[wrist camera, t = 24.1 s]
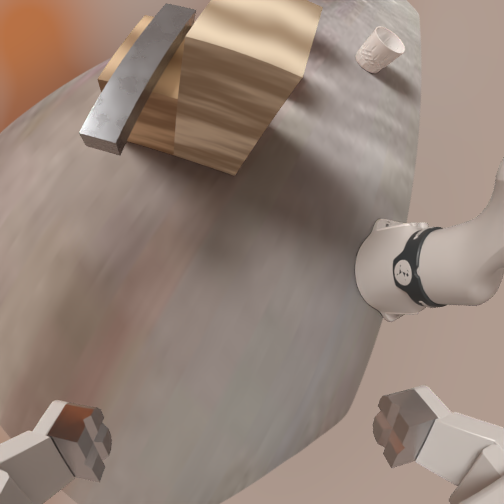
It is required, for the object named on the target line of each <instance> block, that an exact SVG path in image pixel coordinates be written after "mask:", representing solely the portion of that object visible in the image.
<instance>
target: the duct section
mask: <svg viewBox="0 0 504 504" xmlns="http://www.w3.org/2000/svg"><path fill="white" fill-rule="evenodd" d="M195 13H196V10H194V9H189V8H185V7H181V6H176V5H171V4H165V5H164V6H163V8H162V9H161V10H160V11H159V12H158V13H157V15H156V16H155V17H154V18H153V20H152V21H151V22H150V23H149V24H148V26H147V27H146V28H145V30H144V31H143V32H142V33H141V35H140V36H139V37H138V39H137V40H136V41H135V43H134V44H133V46H132V47H131V48H130V50H129V51H128V53H127V54H126V55H125V57H124V58H123V60H122V61H121V63H120V64H119V66H118V67H117V69H116V70H115V72H114V73H113V75H112V76H111V78H110V79H109V81H108V83H107V84H106V86H105V87H104V89H103V91H102V92H101V94H100V96H99V97H98V99H97V101H96V103H95V104H94V106H93V108H92V110H91V111H90V113H89V115H88V117H87V119H86V121H85V123H84V124H83V126H82V128H81V130H80V132H79V134H80V136H81V137H82V139H83V141H84V143H85V145H86V146H88V147H92V148H96V149H99V150H103V151H106V152H110V153H113V154H116V155H121V153H122V150H123V148H124V146H125V144H126V142H127V140H128V138H129V135H130V133H131V131H132V129H133V127H134V125H135V123H136V121H137V119H138V117H139V115H140V113H141V111H142V110H143V108H144V106H145V104H146V102H147V100H148V98H149V96H150V95H151V93H152V91H153V89H154V87H155V86H156V84H157V82H158V80H159V79H160V77H161V75H162V74H163V72H164V70H165V69H166V67H167V65H168V64H169V62H170V60H171V59H172V57H173V56H174V54H175V52H176V51H177V49H178V48H179V46H180V45H181V43H182V42H183V40H184V39H185V36H186V35H187V33H188V32H189V30H190V29H191V27H192V26H193V24H194V18H195Z"/></svg>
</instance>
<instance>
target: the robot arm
mask: <svg viewBox="0 0 504 504" xmlns="http://www.w3.org/2000/svg"><path fill="white" fill-rule="evenodd" d="M386 225H387V227H386ZM503 274H504V158H503V160H502V162H501V164H500V166H499V168H498V171H497V175H496V180H495V187H494V191H493V194H492V197H491V199H490V201H489V203H488V205H487V207H486V208H485V209H484V210H483V212H482V213H481V214H480V215H478V216H477V217H476V218H474V219H472V220H470V221H468V222H465V223H462V224H459V225H455V226H452V227H448V228H441V227H429V226H428V223H418V224H417V223H410V224H405V223H400V222H396V221H391V220H387V219H378V220H377V221H376V222H375V224H374V227H373V230H372V233H371V234H370V235H369V236H368V238H367V239H366V240H365V241H364V242H363V244H362V245H361V247H360V249H359V251H358V254H357V258H356V264H355V276H356V282H357V286H358V289H359V291H360V293H361V295H362V297H363V298H364V300H365V301H366V302H367V303H368V304H369V305H370V306H372V307H374V308H375V309H377V310H378V311H380V313H381V314H382V316H383V317H384V319H385V320H387V321H389V322H390V321H394V320H396V319H398V318H400V317H401V316H403V315H405V314H412V315H414V314H418V313H419V312H420V311H421V310H423V309H424V308H426V307H430V308H436V307H443V306H446V305H468V306H477V305H481V304H483V303H485V302H486V301H488V300H489V299H491V298H492V297H493V296H494V294H495V293H496V292H497V290H498V288H499V286H500V283H501V280H502V277H503ZM378 407H379V408H380V410H381V411H380V412H379V413H378V414H377V415H376V416H375V418H374V422H373V433H374V437H375V439H376V441H377V443H378V444H379V445H381V446H383V447H385V450H384V453H383V454H384V456H385V457H386V459H387V461H388V463H389V465H390V466H391V468H393V467H397V466H400V465H403V464H406V463H409V462H412V461H416V463H418V464H420V465H421V466H423V467H425V468H426V469H428V470H430V471H432V472H433V473H435V474H437V475H438V476H440V477H442V478H444V479H445V480H447V481H449V482H451V483H453V484H454V485H457V486H458V487H457V488H456V490H455V491H454V492H453V494H452V495H451V496H450V499H449V502H450V503H451V504H504V427H501V426H498V425H494V424H491V423H488V422H485V421H482V420H479V419H476V418H473V417H470V416H467V415H463V414H460V413H458V412H454V413H452V412H451V411H450V410H449V409H448V408H447V407H446V406H445V405H444V403H443V402H442V401H441V400H440V399H439V398H438V397H437V396H436V395H435V394H434V393H433V391H432V390H431V389H430V388H429V387H428V386H426V385H422V386H419V387H415V388H412V389H408V390H405V391H401V392H397V393H393V394H389V395H384V396H382V398H381V399H380V401H379V404H378ZM103 419H104V416H103V414H102V411H101V409H99V408H97V407H91V406H86V405H80V404H75V403H70V402H69V403H68V402H64V401H59V400H55V401H53V402H52V403H51V405H50V406H49V407H48V409H47V410H46V412H45V413H44V415H43V416H42V418H41V419H40V421H39V422H38V424H37V425H36V427H35V428H34V430H33V431H27V432H25V433H22V434H20V435H18V436H16V437H14V438H12V439H10V440H8V441H6V442H3V443H1V444H0V504H43V503H44V502H46V501H47V500H48V499H50V498H51V497H52V496H53V495H55V494H56V493H57V492H59V491H60V490H61V489H62V488H64V487H65V486H66V485H67V484H69V483H70V482H71V481H72V480H74V479H75V477H77V478H81V479H86V480H90V481H95V482H100V480H101V477H102V474H103V471H104V469H105V465H104V463H103V461H102V460H104V459H105V458H107V457H108V456H109V454H110V451H111V445H112V439H111V434H110V431H109V429H108V427H106V426H105V425H104V424H103V423H102V421H103Z"/></svg>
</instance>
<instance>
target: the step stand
mask: <svg viewBox="0 0 504 504" xmlns="http://www.w3.org/2000/svg"><path fill="white" fill-rule="evenodd" d="M322 8H323V7H320V6H318V5H316V4H314V3H312V2H309V1H307V0H211V1H210V3H209V4H208V5H207V7H206V8H205V10H204V11H203V12H202V13H201V15H200V16H199V18H198V19H197V20H196V22H195V23H194V24H193V26H192V27H191V29H190V30H189V32H188V33H187V35H186V36H185V39H184V40H183V42H182V43H181V45H180V46H179V48H178V49H177V51H176V52H175V54H174V56H173V57H172V59H171V60H170V62H169V64H168V65H167V67H166V69H165V70H164V72H163V74H162V75H161V77H160V79H159V80H158V82H157V84H156V86H155V87H154V89H153V91H152V93H151V95H150V96H149V98H148V100H147V102H146V104H145V106H144V108H143V110H142V111H141V113H140V115H139V117H138V119H137V121H136V123H135V125H134V127H133V129H132V131H131V133H130V135H129V138H128V140H127V141H128V142H131V143H135V144H138V145H142V146H145V147H148V148H152V149H155V150H158V151H161V152H164V153H168V154H171V155H174V156H177V157H180V158H183V159H186V160H189V161H192V162H195V163H198V164H201V165H204V166H207V167H210V168H213V169H216V170H219V171H222V172H225V173H227V174H230V175H233V176H235V175H236V173H237V172H238V170H239V169H240V167H241V166H242V164H243V163H244V161H245V160H246V158H247V156H248V155H249V153H250V152H251V150H252V149H253V147H254V146H255V145H256V143H257V142H258V140H259V139H260V137H261V136H262V134H263V133H264V131H265V130H266V128H267V127H268V125H269V124H270V123H271V121H272V120H273V118H274V117H275V115H276V114H277V112H278V111H279V110H280V108H281V107H282V105H283V104H284V103H285V101H286V100H287V98H288V97H289V96H290V94H291V93H292V91H293V90H294V89H295V87H296V86H297V84H298V83H299V82H300V80H301V79H302V78H303V74H304V71H305V67H306V64H307V60H308V57H309V53H310V50H311V46H312V43H313V39H314V36H315V32H316V29H317V25H318V22H319V18H320V15H321V11H322ZM153 18H154V17H151V16H146V15H145V16H144V17H143V19H142V20H141V21H140V22H139V23H138V24H137V25H136V27H135V28H134V29H133V31H132V32H131V33H130V34H129V36H128V37H127V38H126V39H125V41H124V42H123V44H122V45H121V46H120V47H119V49H118V50H117V52H116V53H115V54H114V56H113V57H112V59H111V60H110V61H109V63H108V64H107V66H106V67H105V69H104V70H103V72H102V73H101V75H100V76H99V78H98V82H99V86H100V89H101V92H102V91H103V89H104V87H105V86H106V84H107V83H108V81H109V79H110V78H111V76H112V75H113V73H114V72H115V70H116V69H117V67H118V66H119V64H120V63H121V61H122V60H123V58H124V57H125V55H126V54H127V53H128V51H129V50H130V48H131V47H132V46H133V44H134V43H135V41H136V40H137V39H138V37H139V36H140V35H141V33H142V32H143V31H144V30H145V28H146V27H147V26H148V24H149V23H150V22H151V21H152V20H153Z"/></svg>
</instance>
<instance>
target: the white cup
mask: <svg viewBox="0 0 504 504" xmlns="http://www.w3.org/2000/svg"><path fill="white" fill-rule="evenodd" d="M404 52H405V47H404V44H403V42H402V41H401V40H400V38H399V37H398V36H397V35H396V34H395V33H393V32H392V31H390V30H389V29H387V28H385V27H377V28H376V29H375V30H374V31H373V33H372V34H371V35H370V36H369V37H368V39H367V40H366V41H365V42H364V44H363V45H362V46H361V48H360V49H359V50H358V52H357V53H356V60H357V62H358V63H359V65H360V66H361V67H362V68H363V69H365V70H366V71H368V72H370V73H377V72H379V71H380V70H381V69H383V68H384V67H386V66H387V65H389V64H390V63H391V62H393V61H394V60H395V59H396V58H398V57H399V56H400V55H402V54H403V53H404Z"/></svg>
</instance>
